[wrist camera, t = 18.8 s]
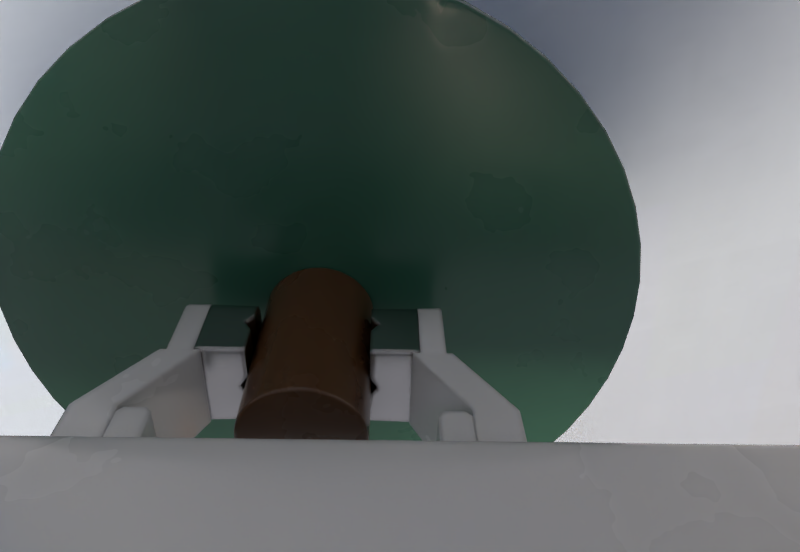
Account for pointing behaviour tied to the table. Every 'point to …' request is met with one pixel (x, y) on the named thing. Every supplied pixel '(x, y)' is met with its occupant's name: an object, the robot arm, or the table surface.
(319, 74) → the lid
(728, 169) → the table surface
